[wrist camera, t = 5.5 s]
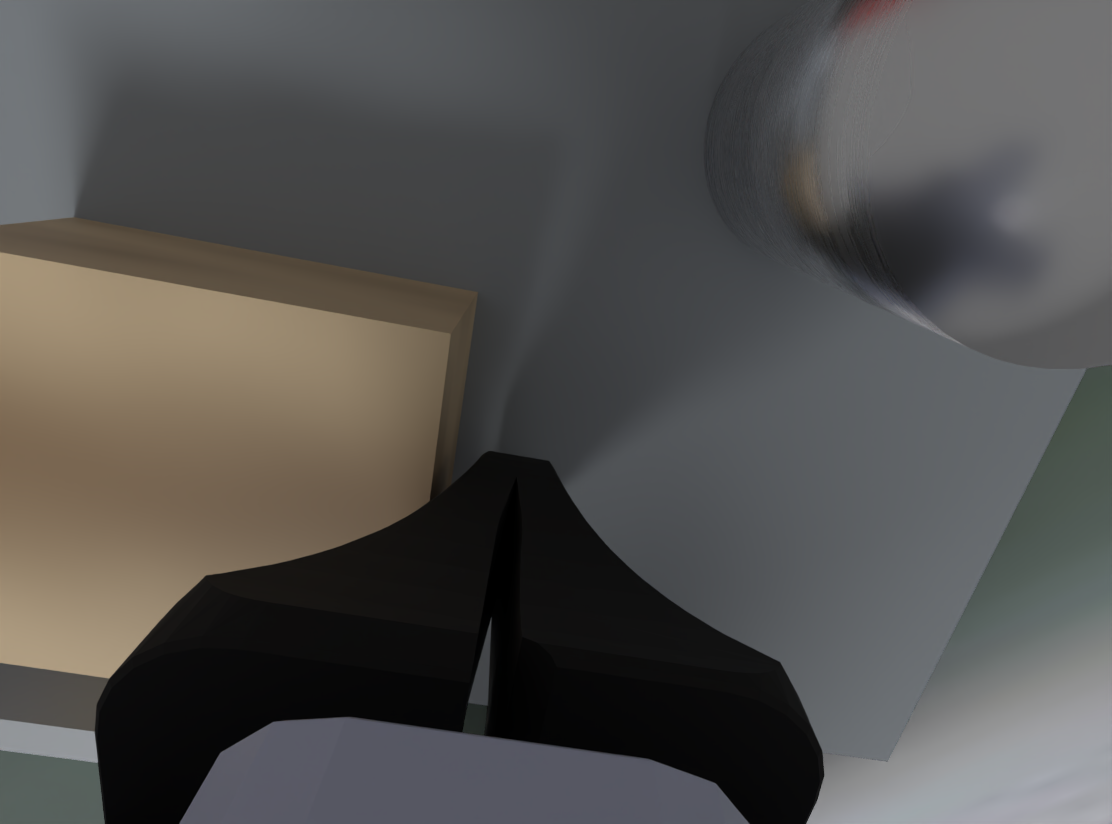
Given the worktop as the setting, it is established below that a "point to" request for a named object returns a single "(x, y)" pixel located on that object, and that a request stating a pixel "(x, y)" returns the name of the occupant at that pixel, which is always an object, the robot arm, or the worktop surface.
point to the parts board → (559, 301)
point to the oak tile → (200, 422)
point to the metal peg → (933, 165)
